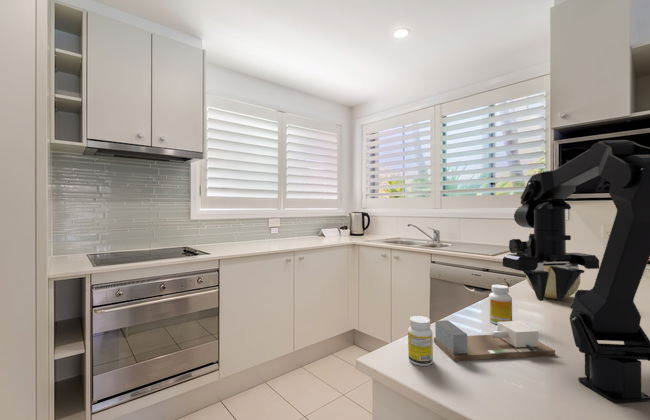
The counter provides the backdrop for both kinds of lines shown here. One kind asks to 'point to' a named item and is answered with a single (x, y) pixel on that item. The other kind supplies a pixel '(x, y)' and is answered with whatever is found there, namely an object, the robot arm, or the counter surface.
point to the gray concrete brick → (451, 337)
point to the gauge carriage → (516, 334)
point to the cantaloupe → (551, 284)
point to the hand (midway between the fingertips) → (550, 300)
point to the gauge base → (495, 349)
